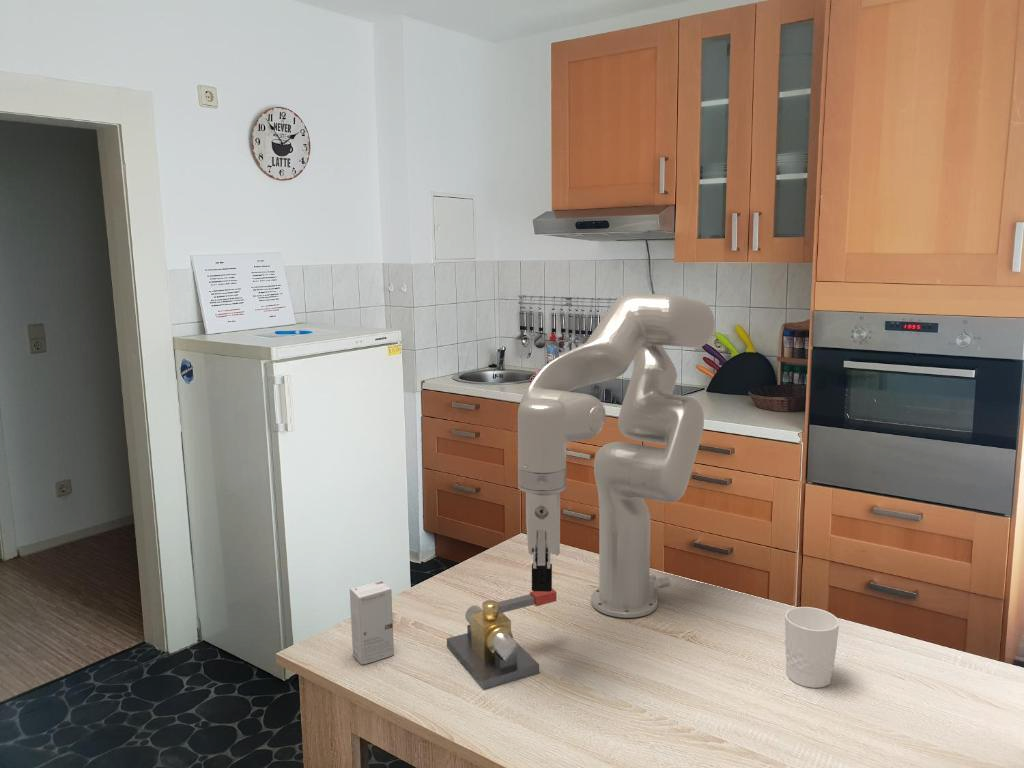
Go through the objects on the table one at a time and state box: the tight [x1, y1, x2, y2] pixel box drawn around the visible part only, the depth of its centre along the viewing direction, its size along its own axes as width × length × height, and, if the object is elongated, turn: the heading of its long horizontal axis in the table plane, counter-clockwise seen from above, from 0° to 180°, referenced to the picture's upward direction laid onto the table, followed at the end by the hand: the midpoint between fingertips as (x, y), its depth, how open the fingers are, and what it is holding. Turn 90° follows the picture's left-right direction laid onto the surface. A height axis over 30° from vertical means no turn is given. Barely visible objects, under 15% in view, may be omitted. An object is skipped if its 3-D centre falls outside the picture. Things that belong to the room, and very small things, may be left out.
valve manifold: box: [446, 605, 540, 691], centre depth 131 cm, size 10×15×8 cm, turn 27°
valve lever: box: [481, 588, 558, 619], centre depth 132 cm, size 13×3×2 cm, turn 117°
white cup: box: [784, 606, 840, 689], centre depth 124 cm, size 8×8×10 cm
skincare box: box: [349, 580, 395, 666], centre depth 132 cm, size 6×4×12 cm
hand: (541, 589), depth 125 cm, fingers closed
